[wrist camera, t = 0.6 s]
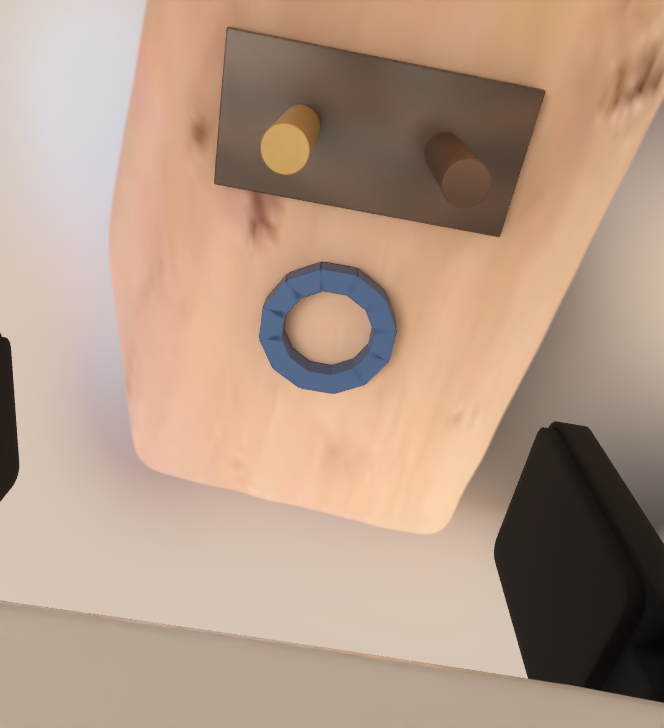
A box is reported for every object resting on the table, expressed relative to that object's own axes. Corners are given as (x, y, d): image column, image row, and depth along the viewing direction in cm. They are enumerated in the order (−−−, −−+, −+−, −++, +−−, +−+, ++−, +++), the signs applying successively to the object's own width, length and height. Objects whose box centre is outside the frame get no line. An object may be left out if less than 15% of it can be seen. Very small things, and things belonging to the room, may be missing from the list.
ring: (272, 252, 42) (269, 259, 41) (406, 276, 43) (408, 284, 41) (256, 370, 47) (253, 380, 46) (378, 391, 47) (378, 402, 46)
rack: (230, 27, 36) (187, 23, 27) (541, 89, 37) (599, 105, 28) (217, 180, 40) (177, 221, 31) (496, 232, 41) (534, 286, 32)
